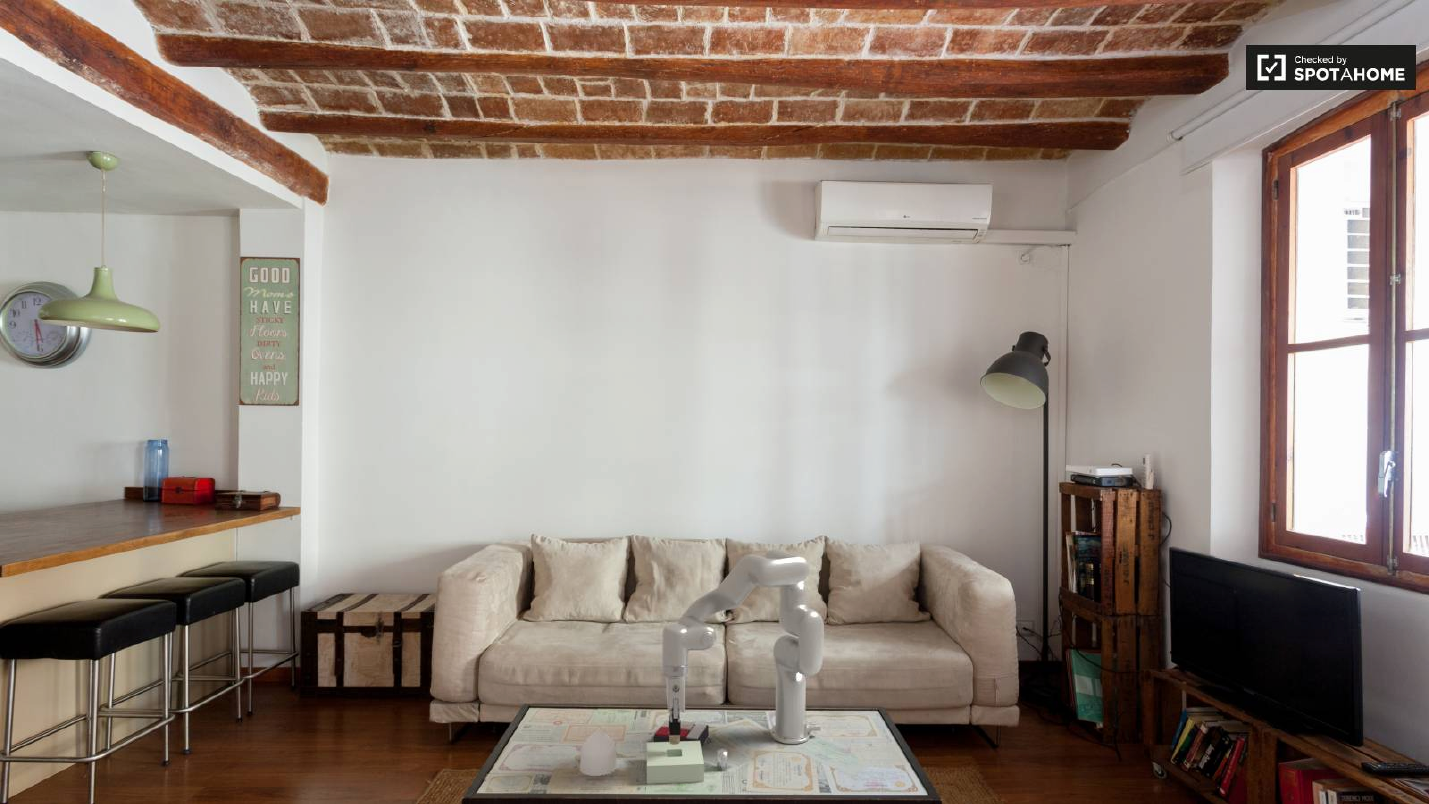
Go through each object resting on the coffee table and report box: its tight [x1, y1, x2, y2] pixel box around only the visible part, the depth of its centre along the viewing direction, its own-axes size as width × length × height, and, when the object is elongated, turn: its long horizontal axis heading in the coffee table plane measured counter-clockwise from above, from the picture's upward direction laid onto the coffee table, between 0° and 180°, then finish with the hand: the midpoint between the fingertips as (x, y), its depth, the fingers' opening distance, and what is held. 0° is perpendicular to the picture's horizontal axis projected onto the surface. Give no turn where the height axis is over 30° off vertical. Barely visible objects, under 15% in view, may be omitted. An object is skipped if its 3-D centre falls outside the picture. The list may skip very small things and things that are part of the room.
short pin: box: [716, 748, 729, 772], centre depth 213 cm, size 3×3×5 cm
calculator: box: [652, 720, 710, 748], centre depth 231 cm, size 11×4×15 cm
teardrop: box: [579, 726, 618, 777], centre depth 214 cm, size 11×11×12 cm
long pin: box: [668, 709, 680, 745], centre depth 212 cm, size 3×3×11 cm
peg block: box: [646, 741, 705, 785], centre depth 212 cm, size 16×14×5 cm
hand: (674, 731), depth 212 cm, fingers closed on long pin, 3 cm apart
